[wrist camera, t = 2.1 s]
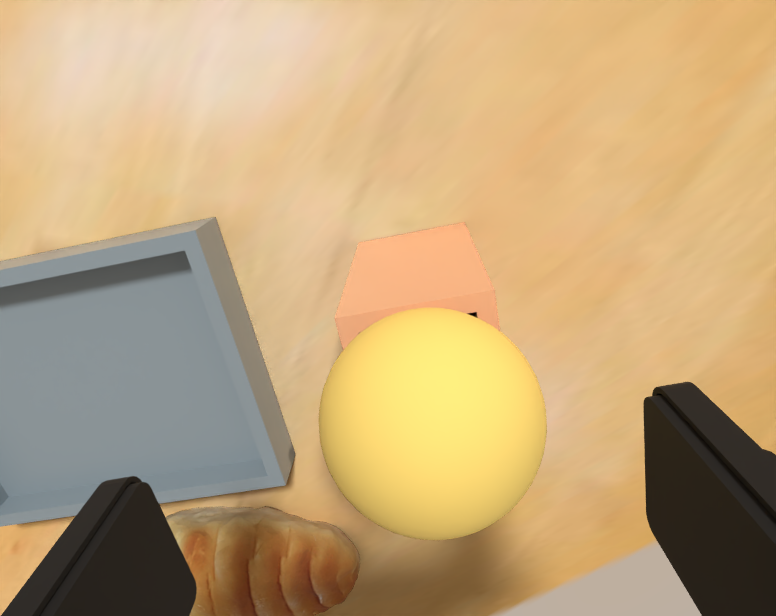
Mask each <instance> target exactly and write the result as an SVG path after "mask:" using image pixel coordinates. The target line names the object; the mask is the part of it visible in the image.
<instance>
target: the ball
mask: <svg viewBox="0 0 776 616" xmlns="http://www.w3.org/2000/svg"><path fill="white" fill-rule="evenodd" d="M319 433H320V443H321V447H322V451H323V455H324V458H325V462H326V464H327V467H328V469H329V472H330V474H331V475H332V477H333V479H334V481H335V482H336V484H337V486H338V488H339V489H340V491H341V492H342V493H343V495H344V496H345V497H346V498H347V500H348V501H349V502H350V503H351V504H352V505H353V506H354V507H355V508H356V509H357V510H358V511H359V512H360V513H361V514H363V515H364V516H365V517H367V518H368V519H369V520H371V521H372V522H374V523H376V524H378V525H379V526H381V527H383V528H385V529H387V530H389V531H391V532H394V533H396V534H399V535H402V536H406V537H410V538H415V539H422V540H448V539H454V538H460V537H463V536H467V535H470V534H473V533H476V532H478V531H481V530H483V529H484V528H486V527H488V526H490V525H492V524H493V523H495V522H496V521H497V520H499V519H500V518H502V517H503V516H505V515H506V514H507V513H508V512H509V511H510V510H511V509H513V508H514V506H515V505H516V504H517V503H518V502H519V501H520V500H521V498H522V497H523V496H524V494H525V493H526V492H527V490H528V489H529V487H530V486H531V484H532V482H533V480H534V478H535V476H536V474H537V471H538V469H539V466H540V464H541V460H542V457H543V454H544V448H545V441H546V433H547V423H546V409H545V404H544V398H543V395H542V392H541V389H540V386H539V383H538V380H537V377H536V375H535V374H534V372H533V370H532V368H531V366H530V365H529V363H528V361H527V360H526V358H525V357H524V355H523V354H522V353H521V351H520V350H519V349H518V348H517V347H516V346H515V345H514V344H513V343H512V342H511V341H510V340H509V339H508V338H507V337H506V336H505V335H504V334H503V333H501V332H500V331H499V330H497V329H496V328H495V327H493V326H492V325H490V324H488V323H486V322H485V321H483V320H481V319H479V318H476V317H474V316H471V315H469V314H466V313H463V312H460V311H456V310H452V309H444V308H417V309H410V310H406V311H402V312H398V313H395V314H392V315H390V316H387V317H385V318H383V319H381V320H379V321H377V322H375V323H374V324H372V325H370V326H369V327H368V328H366V329H365V330H363V331H362V332H361V333H359V334H358V335H357V336H356V337H355V338H354V339H353V340H352V341H351V342H350V343H349V344H348V345H347V347H346V348H345V349H344V350H343V351H342V353H341V354H340V355H339V357H338V358H337V360H336V362H335V363H334V365H333V367H332V368H331V371H330V373H329V376H328V378H327V380H326V383H325V385H324V388H323V393H322V397H321V402H320V409H319Z"/></svg>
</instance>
